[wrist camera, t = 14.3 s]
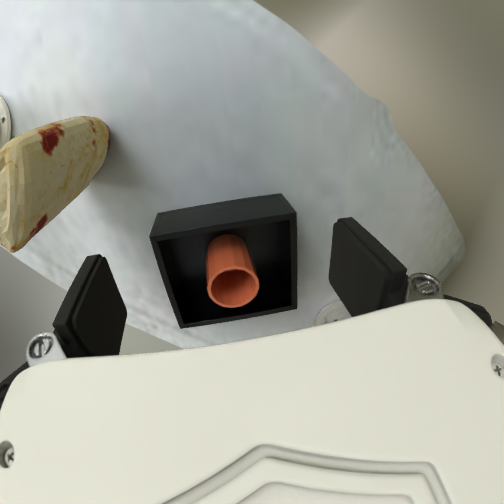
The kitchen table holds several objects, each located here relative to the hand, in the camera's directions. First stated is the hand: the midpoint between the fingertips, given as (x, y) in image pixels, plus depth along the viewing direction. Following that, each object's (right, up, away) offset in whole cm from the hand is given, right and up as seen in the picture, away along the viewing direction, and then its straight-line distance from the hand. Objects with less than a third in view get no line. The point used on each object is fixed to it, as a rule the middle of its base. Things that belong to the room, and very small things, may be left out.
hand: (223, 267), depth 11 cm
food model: (-19, +14, +18) cm, 30 cm away
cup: (-2, 0, +28) cm, 28 cm away
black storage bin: (-2, +1, +29) cm, 29 cm away
